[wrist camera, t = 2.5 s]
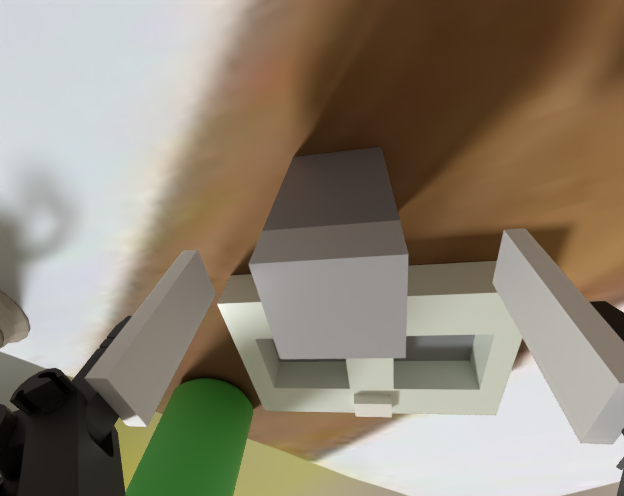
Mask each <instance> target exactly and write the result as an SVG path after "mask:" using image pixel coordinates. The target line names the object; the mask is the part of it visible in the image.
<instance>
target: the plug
mask: <svg viewBox="0 0 624 496" xmlns="http://www.w3.org/2000/svg"><path fill="white" fill-rule="evenodd" d="M249 267H250V270H251V273H252V276H253V279H254V282H255V285H256V288H257V291H258V294H259V297H260V300H261V303H262V306H263V309H264V312H265V315H266V318H267V321H268V324H269V327H270V330H271V333H272V336H273V339H274V342H275V345H276V348H277V351H278V354H279V357H280V359H362V358H406V325H407V289H408V250H407V247H406V243H405V239H404V235H403V231H402V227H401V223H400V219H399V215H398V211H397V207H396V203H395V199H394V195H393V191H392V187H391V183H390V179H389V175H388V171H387V167H386V163H385V159H384V155H383V151H382V147H374V148H365V149H357V150H348V151H340V152H331V153H322V154H314V155H305V156H297V157H293V159H292V161H291V163H290V166H289V168H288V171H287V173H286V175H285V178H284V180H283V183H282V185H281V187H280V190H279V192H278V195H277V197H276V199H275V202H274V204H273V206H272V209H271V211H270V214H269V216H268V218H267V221H266V223H265V226H264V228H263V230H262V233H261V235H260V238H259V240H258V242H257V245H256V247H255V250H254V252H253V254H252V257H251V259H250V261H249Z"/></svg>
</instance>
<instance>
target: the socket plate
mask: <svg viewBox="0 0 624 496" xmlns="http://www.w3.org/2000/svg"><path fill="white" fill-rule="evenodd" d="M496 264H497V261H483V262H465V263H447V264H429V265H411V266H408V289H407V325H406V358H362V359H280V357H279V354H278V351H277V348H276V345H275V342H274V339H273V336H272V333H271V330H270V327H269V324H268V321H267V318H266V315H265V312H264V309H263V306H262V303H261V300H260V297H259V294H258V291H257V288H256V285H255V282H254V279H253V276H252V274H247V275H230V278H229V280H228V282H227V284H226V286H225V288H224V290H223V292H222V294H221V297H220V299H219V301H218V303H217V305H218V307H219V309H220V311H221V314H222V316H223V318H224V320H225V323H226V325H227V327H228V329H229V332H230V334H231V336H232V338H233V341H234V343H235V345H236V347H237V350H238V352H239V354H240V356H241V359H242V361H243V363H244V365H245V368H246V370H247V372H248V374H249V377H250V379H251V381H252V383H253V386H254V388H255V390H256V392H257V394H258V397H259V399H260V401H261V403H262V406H263V408H264V410H265V411H305V412H355V415H356V416H361V417H392V413H407V414H458V415H496V413H497V410H498V407H499V404H500V402H501V399H502V396H503V393H504V390H505V387H506V384H507V381H508V378H509V375H510V372H511V370H512V367H513V364H514V361H515V358H516V355H517V352H518V349H519V346H520V343H521V340H522V336H521V334H520V332H519V330H518V329H517V327H516V325H515V323H514V321H513V319H512V318H511V316H510V314H509V312H508V310H507V309H506V307H505V305H504V303H503V301H502V299H501V298H500V296H499V294H498V292H497V290H496V289H495V287H494V285H493V283H492V282H493V277H494V273H495V268H496Z"/></svg>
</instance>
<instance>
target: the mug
mask: <svg viewBox="0 0 624 496" xmlns="http://www.w3.org/2000/svg"><path fill="white" fill-rule="evenodd" d="M29 331H30V326H29V322H28V319H27V317H26V316H25V314H24V313H23V311H22V310H21V308H20V307H19V306H18V305H16V304H15V303H14V302H13V301H12V300H11V299H10V298H9V297H8V296H7V295H5V294H4V293H2V292H1V291H0V348H2V347H4V346H5V345H6V344H7V343H13V342H19V341H21V340H22V339H24V338H26V337H27V335H28V333H29Z"/></svg>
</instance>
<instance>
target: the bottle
mask: <svg viewBox="0 0 624 496" xmlns="http://www.w3.org/2000/svg"><path fill="white" fill-rule="evenodd" d="M252 416H253V406H252V404H251V403H250V402H249V400H248V399H247V397H246V396H245V395H244V393H243V392H242V391H241V390H239V389H238V388H236V387H235V386H233V385H231V384H229V383H227V382H225V381H221V380H217V379H212V378H200V379H195V380H191V381H188V382H185V383H183V384H181V385H180V386H178V387H177V388H175V390H174V392H173V394H172V396H171V398H170V401H169V403H168V405H167V407H166V409H165V411H164V413H163V415H162V417H161V419H160V422H159V423H158V426H157V428H156V430H155V432H154V434H153V436H152V438H151V440H150V442H149V444H148V446H147V448H146V450H145V453H144V455H143V457H142V459H141V461H140V463H139V465H138V467H137V469H136V471H135V473H134V475H133V478H132V480H131V482H130V484H129V486H128V488H127V490H126V492H125V495H126V496H233V494H234V490H235V485H236V481H237V477H238V473H239V469H240V465H241V461H242V457H243V453H244V449H245V444H246V440H247V436H248V432H249V428H250V424H251V420H252Z"/></svg>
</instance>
